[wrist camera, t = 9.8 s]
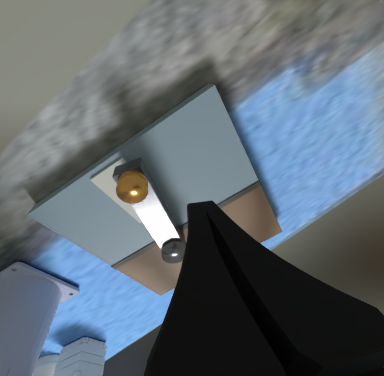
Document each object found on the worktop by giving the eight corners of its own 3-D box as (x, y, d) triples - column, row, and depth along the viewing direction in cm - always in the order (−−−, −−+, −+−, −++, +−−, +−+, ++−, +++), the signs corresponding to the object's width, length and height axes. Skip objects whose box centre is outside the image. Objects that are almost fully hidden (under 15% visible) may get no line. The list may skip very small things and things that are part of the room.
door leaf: (113, 254, 22) (111, 267, 21) (35, 204, 17) (25, 216, 16) (251, 172, 20) (259, 181, 18) (209, 82, 14) (215, 85, 13)
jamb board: (159, 284, 27) (160, 296, 26) (113, 254, 22) (111, 266, 21) (275, 222, 25) (282, 232, 23) (251, 172, 20) (259, 181, 18)
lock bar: (186, 236, 20) (192, 262, 18) (165, 244, 20) (168, 271, 18) (143, 152, 15) (142, 172, 12) (114, 163, 15) (106, 186, 12)
